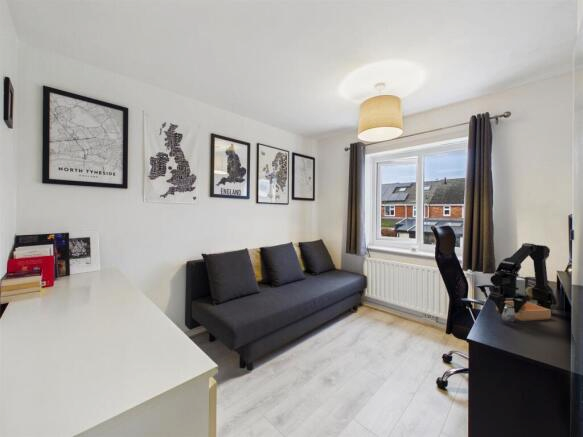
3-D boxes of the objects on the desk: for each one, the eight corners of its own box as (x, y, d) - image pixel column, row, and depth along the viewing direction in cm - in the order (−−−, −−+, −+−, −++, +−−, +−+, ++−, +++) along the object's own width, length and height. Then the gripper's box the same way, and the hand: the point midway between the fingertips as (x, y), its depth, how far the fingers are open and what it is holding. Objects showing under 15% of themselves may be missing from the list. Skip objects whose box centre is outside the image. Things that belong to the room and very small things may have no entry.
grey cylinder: (506, 317, 133) (506, 304, 133) (516, 321, 128) (516, 308, 128) (499, 318, 131) (499, 305, 131) (510, 322, 127) (510, 309, 126)
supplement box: (527, 299, 162) (527, 280, 161) (514, 298, 163) (514, 279, 163) (519, 295, 169) (519, 277, 169) (507, 294, 170) (507, 276, 170)
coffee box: (523, 301, 157) (524, 276, 157) (532, 301, 158) (533, 276, 157) (539, 306, 148) (539, 280, 148) (548, 306, 149) (549, 280, 148)
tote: (522, 308, 145) (523, 300, 145) (550, 319, 131) (550, 309, 131) (496, 310, 142) (496, 301, 142) (521, 320, 128) (522, 311, 128)
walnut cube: (515, 311, 139) (515, 302, 139) (524, 315, 134) (525, 306, 134) (507, 311, 138) (508, 303, 138) (516, 315, 133) (517, 306, 133)
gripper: (508, 279, 138) (508, 306, 139) (479, 280, 136) (479, 308, 136) (530, 285, 127) (529, 314, 128) (499, 286, 125) (498, 316, 125)
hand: (508, 313), depth 130 cm, fingers open, 9 cm apart
